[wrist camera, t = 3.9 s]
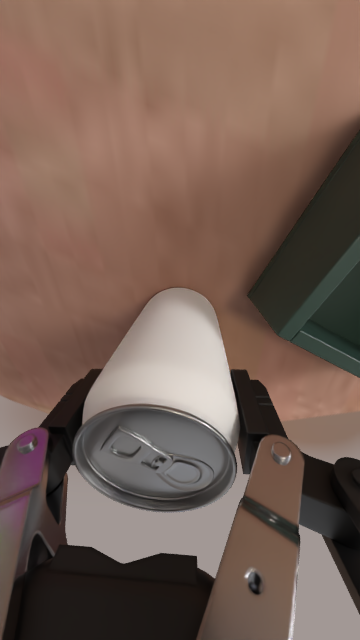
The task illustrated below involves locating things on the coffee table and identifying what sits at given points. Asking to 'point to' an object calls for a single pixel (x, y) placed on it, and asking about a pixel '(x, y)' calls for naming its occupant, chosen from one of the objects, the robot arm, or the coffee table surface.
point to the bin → (320, 272)
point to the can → (163, 411)
